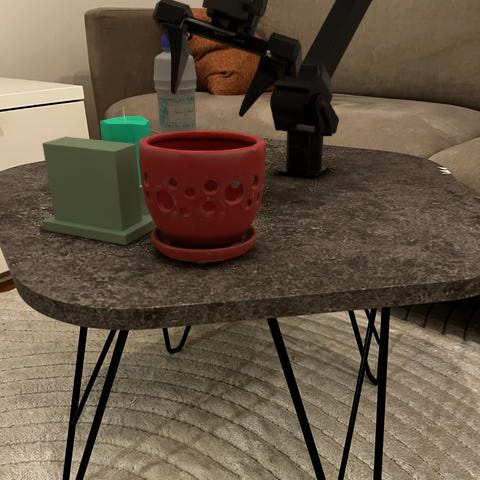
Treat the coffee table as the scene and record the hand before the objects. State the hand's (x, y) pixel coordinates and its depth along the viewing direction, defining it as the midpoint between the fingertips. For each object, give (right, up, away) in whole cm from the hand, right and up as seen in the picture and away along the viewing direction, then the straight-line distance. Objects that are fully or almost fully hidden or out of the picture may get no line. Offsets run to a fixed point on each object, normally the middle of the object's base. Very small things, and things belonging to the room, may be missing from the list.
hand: (206, 104), depth 75 cm
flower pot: (0, -19, -9) cm, 21 cm away
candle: (-10, -13, +2) cm, 16 cm away
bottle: (-6, -2, +24) cm, 25 cm away
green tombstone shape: (-10, -13, +2) cm, 17 cm away
